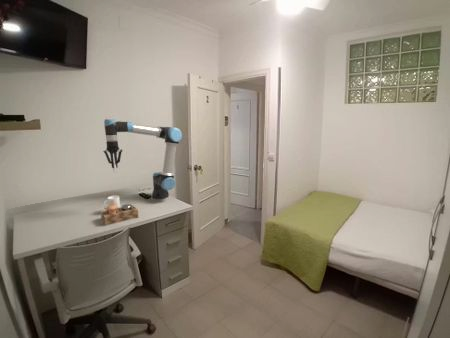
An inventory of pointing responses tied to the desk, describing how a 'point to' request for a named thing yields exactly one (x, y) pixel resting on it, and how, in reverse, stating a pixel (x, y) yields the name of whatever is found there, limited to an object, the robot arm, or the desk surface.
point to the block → (119, 215)
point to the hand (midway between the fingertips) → (115, 172)
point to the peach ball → (111, 209)
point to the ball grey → (126, 207)
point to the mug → (113, 201)
